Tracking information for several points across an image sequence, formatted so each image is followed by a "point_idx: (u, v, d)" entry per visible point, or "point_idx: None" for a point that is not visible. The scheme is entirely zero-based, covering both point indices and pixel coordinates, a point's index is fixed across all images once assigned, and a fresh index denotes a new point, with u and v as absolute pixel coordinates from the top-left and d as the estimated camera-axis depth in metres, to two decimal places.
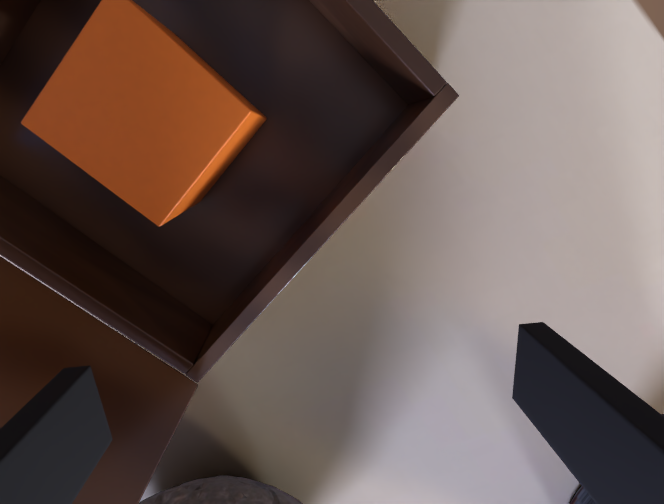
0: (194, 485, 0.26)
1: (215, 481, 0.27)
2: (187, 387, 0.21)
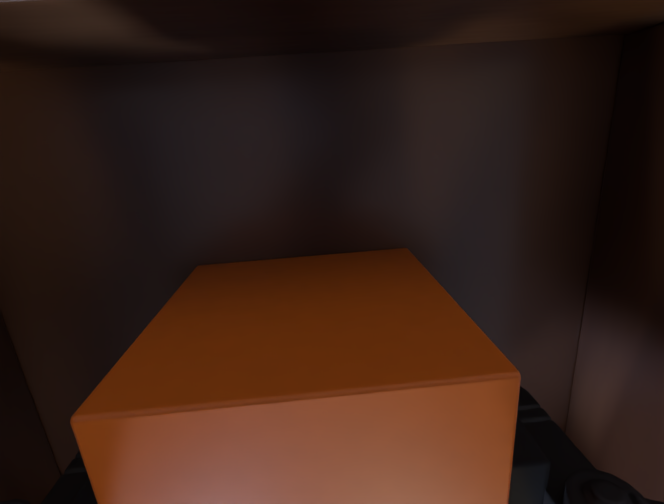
0: None
1: None
2: None
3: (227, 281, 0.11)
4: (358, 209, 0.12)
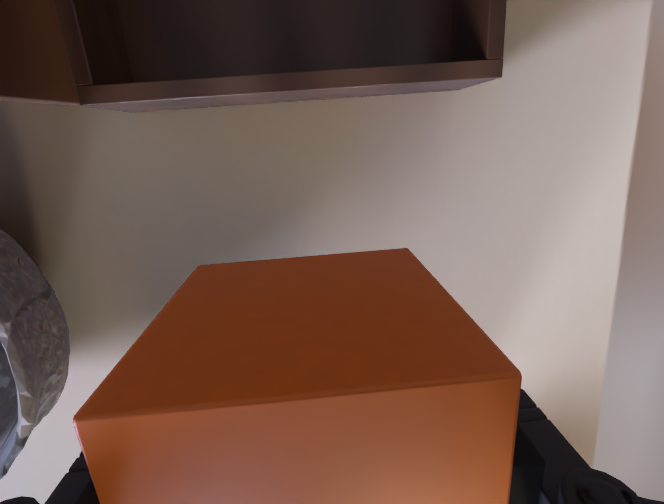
0: None
1: None
2: (68, 91, 0.18)
3: (228, 281, 0.11)
4: None
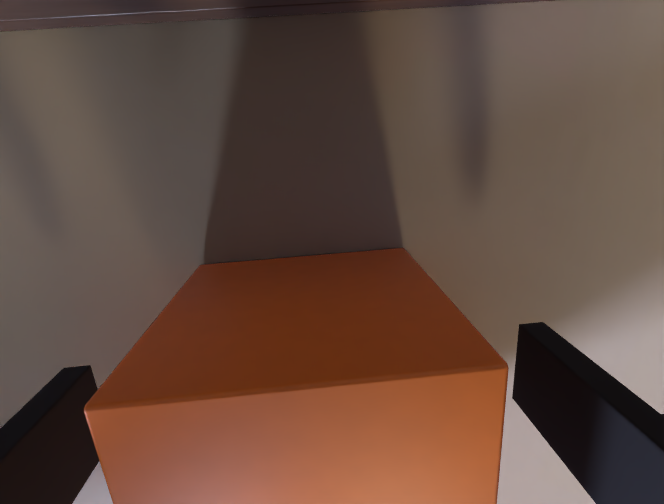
0: None
1: None
2: None
3: (228, 279, 0.11)
4: None
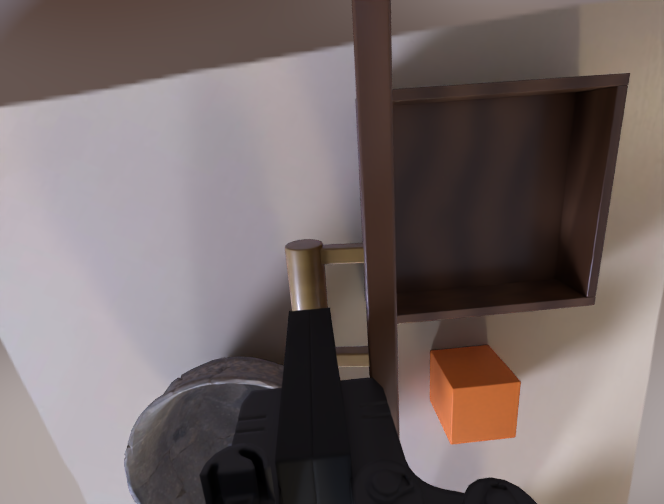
0: None
1: None
2: None
3: (446, 357, 0.42)
4: (489, 149, 0.36)
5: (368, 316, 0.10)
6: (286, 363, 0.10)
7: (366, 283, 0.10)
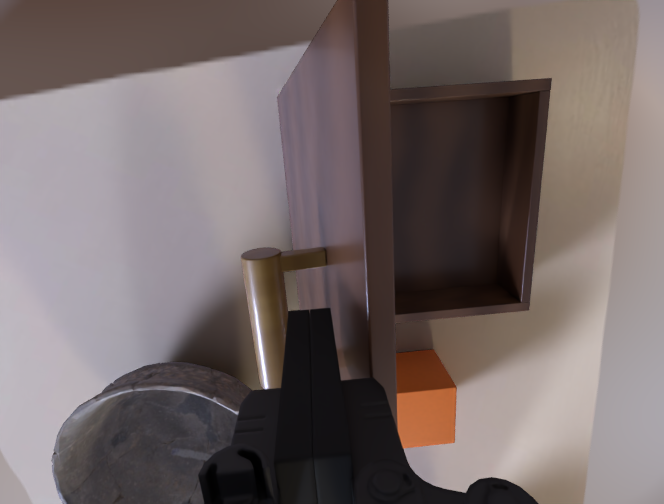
0: (236, 378, 0.37)
1: None
2: None
3: None
4: (423, 153, 0.36)
5: (369, 316, 0.10)
6: (285, 363, 0.10)
7: (367, 283, 0.10)
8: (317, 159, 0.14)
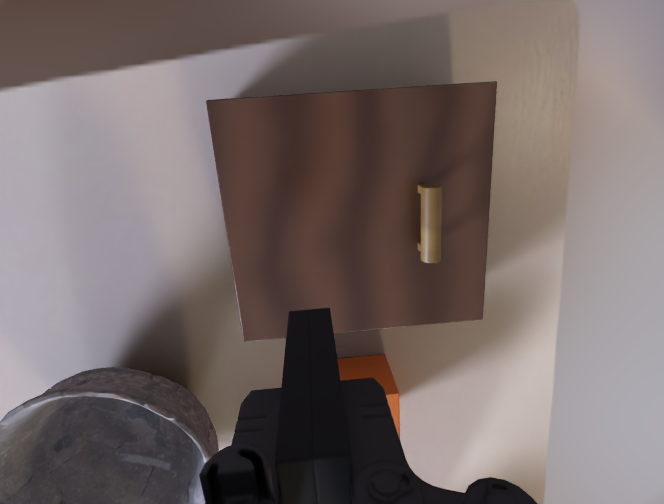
0: (177, 384, 0.37)
1: (186, 390, 0.38)
2: None
3: None
4: None
5: None
6: (286, 363, 0.10)
7: (491, 169, 0.31)
8: (421, 139, 0.30)
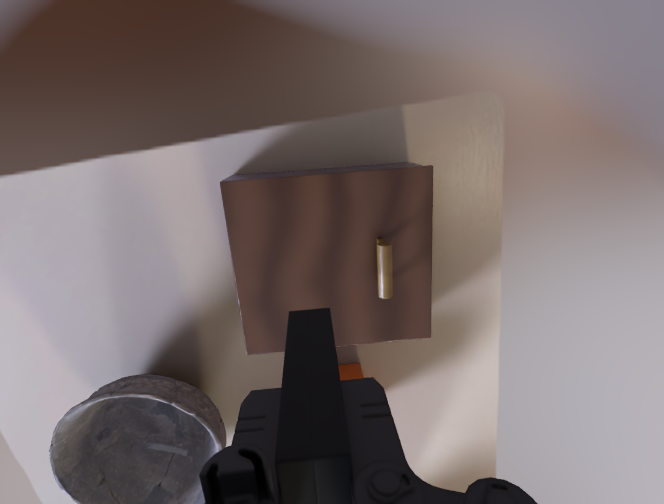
0: (194, 387, 0.48)
1: (202, 392, 0.49)
2: None
3: None
4: None
5: None
6: (286, 363, 0.10)
7: None
8: (378, 206, 0.41)
